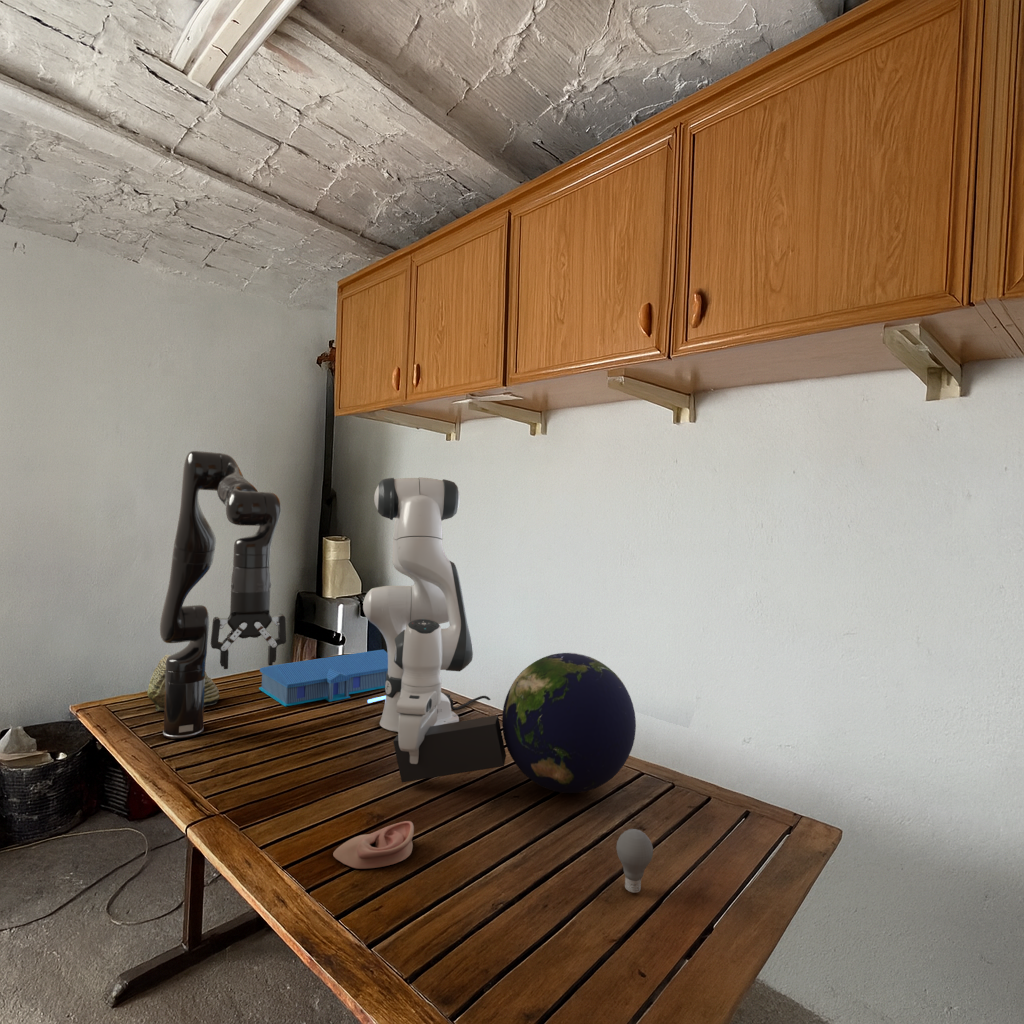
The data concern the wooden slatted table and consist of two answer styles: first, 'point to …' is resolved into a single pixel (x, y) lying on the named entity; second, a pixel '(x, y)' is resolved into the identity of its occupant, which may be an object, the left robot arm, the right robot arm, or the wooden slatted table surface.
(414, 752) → the right robot arm
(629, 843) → the light bulb
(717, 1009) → the wooden slatted table surface
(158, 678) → the fossil
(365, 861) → the anatomical model
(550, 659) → the globe
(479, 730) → the bar
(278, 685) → the model building
